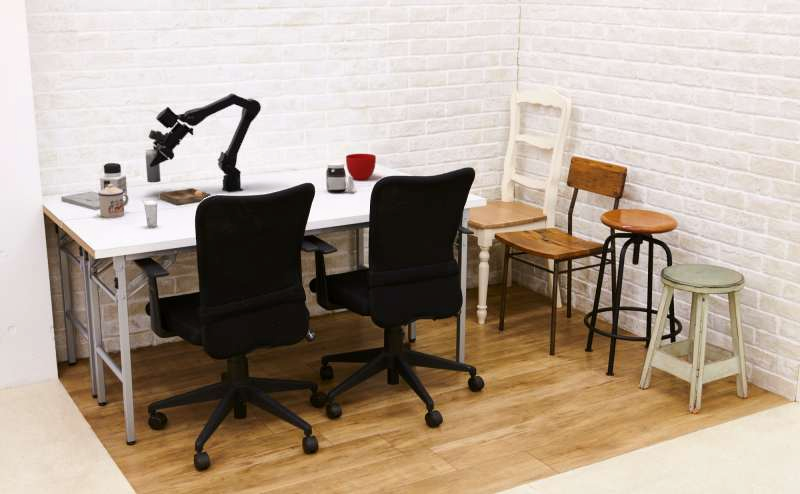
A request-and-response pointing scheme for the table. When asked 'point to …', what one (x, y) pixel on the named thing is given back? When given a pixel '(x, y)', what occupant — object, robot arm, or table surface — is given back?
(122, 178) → the container
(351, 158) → the ceramic cup
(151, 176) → the cylinder
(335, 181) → the spread jar
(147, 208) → the milkshake
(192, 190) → the tray
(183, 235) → the table surface
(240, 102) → the robot arm
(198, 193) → the ball
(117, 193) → the teacup with lid
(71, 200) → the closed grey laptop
